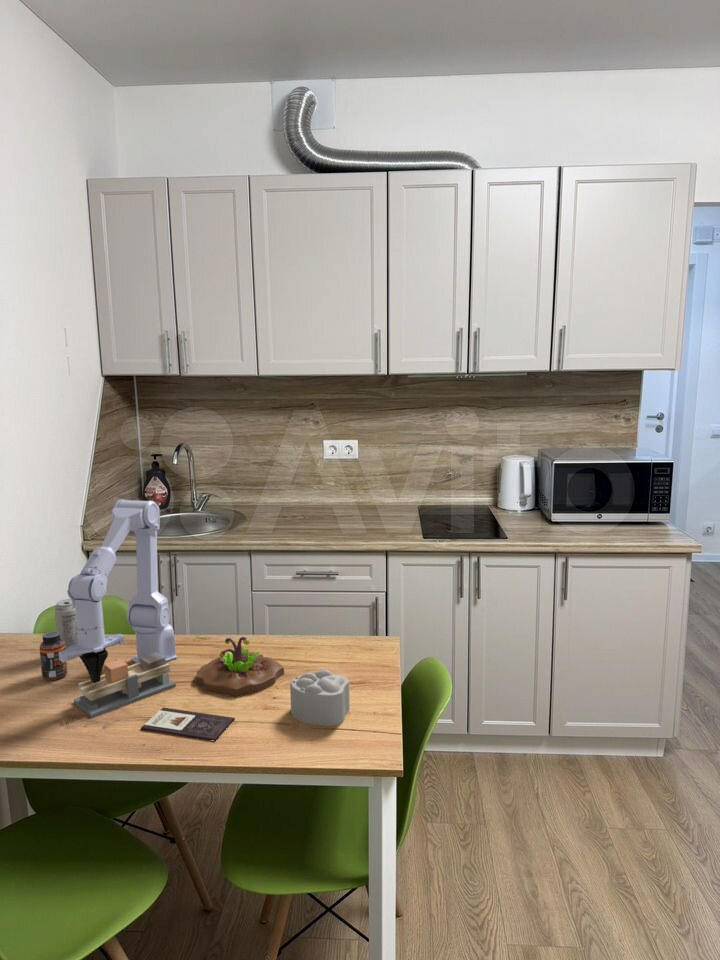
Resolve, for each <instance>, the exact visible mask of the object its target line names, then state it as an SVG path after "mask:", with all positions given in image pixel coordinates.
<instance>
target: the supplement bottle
mask: <svg viewBox="0 0 720 960" xmlns="http://www.w3.org/2000/svg"><path fill="white" fill-rule="evenodd" d="M63 650H65V642H64V641H63V640H61V639H60V633H59V632H57V631H48V632H46V633H44V634H43V635H42V642H41V643H40V644H39V655H40V669H41V677H42V679H43V680H46V681H56V680H60V679H63V678H65V677H66V676H67V674H68V665H67V664H68V663H67V662H68V661H66V662H61V661H60V660H59V652H60V651H63Z"/></svg>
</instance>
